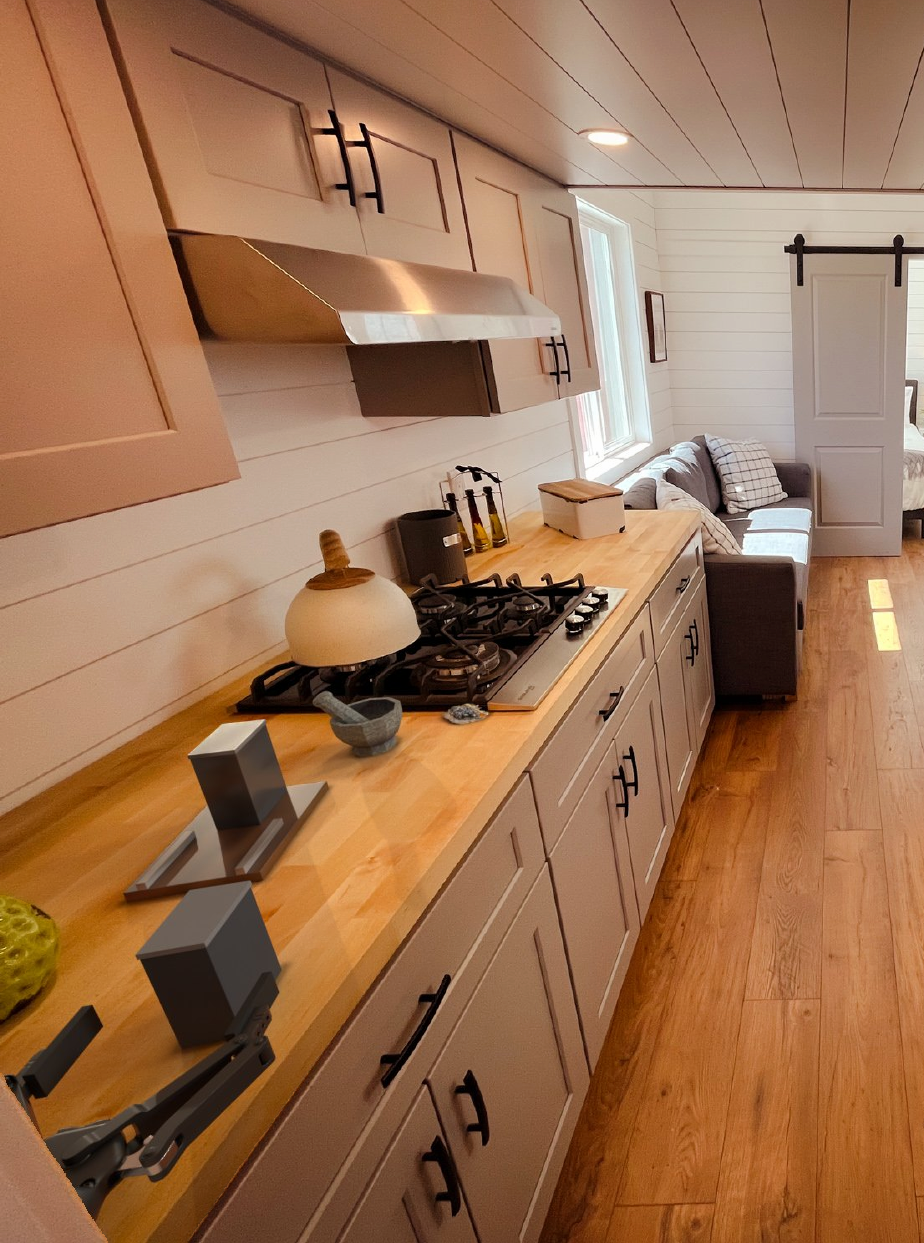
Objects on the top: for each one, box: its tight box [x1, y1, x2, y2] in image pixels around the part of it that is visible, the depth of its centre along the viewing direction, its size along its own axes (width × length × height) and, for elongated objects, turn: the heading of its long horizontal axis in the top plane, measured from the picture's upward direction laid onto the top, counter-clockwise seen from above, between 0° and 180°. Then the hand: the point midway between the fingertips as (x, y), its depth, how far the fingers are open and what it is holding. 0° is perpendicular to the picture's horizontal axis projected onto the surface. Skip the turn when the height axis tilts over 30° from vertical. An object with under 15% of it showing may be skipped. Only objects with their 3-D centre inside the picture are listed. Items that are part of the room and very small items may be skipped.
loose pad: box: [134, 881, 283, 1050], centre depth 68 cm, size 5×8×12 cm, turn 16°
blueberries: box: [441, 703, 489, 725], centre depth 126 cm, size 7×8×2 cm
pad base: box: [122, 719, 330, 903], centre depth 92 cm, size 14×20×14 cm
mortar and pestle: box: [312, 690, 403, 758], centre depth 113 cm, size 11×9×12 cm
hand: (184, 998), depth 64 cm, fingers open, 13 cm apart
